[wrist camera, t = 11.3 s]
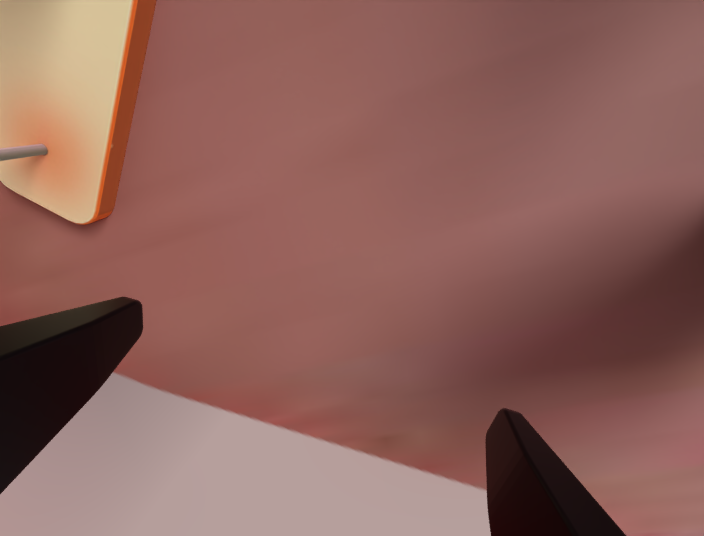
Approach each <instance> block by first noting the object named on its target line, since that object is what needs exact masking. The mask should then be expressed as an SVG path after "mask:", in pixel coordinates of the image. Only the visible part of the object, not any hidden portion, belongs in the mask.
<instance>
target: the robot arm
mask: <svg viewBox="0 0 704 536" xmlns="http://www.w3.org/2000/svg"><path fill="white" fill-rule="evenodd" d="M142 331H143V313H142V304H141V302H140V301H138V300H135V299H131V298H128V297H119V298H115V299H111V300H107V301H103V302H99V303H95V304H91V305H86V306H82V307H78V308H74V309H70V310H66V311H62V312H58V313H53V314H49V315H45V316H41V317H37V318H33V319H29V320H25V321H21V322H16V323H12V324H8V325H4V326H0V494H1V493H2V492H3V491H4V490H5V489H6V488H7V486H8V485H9V484H10V483H11V482H12V481H13V480H14V479H15V478H16V477H17V476H18V475H19V474H20V473H21V472H22V470H23V469H24V468H25V467H26V466H27V465H28V464H29V463H30V462H31V461H32V460H33V459H34V458H35V456H37V455H38V454H39V452H40V451H41V450H42V449H43V448H44V447H45V446H46V445H47V444H48V443H49V442H50V441H51V440H52V439H53V438H54V437H55V435H56V434H57V433H58V432H59V431H60V430H61V429H62V428H63V427H64V426H65V425H66V424H67V423H68V422H69V421H70V420H71V419H72V418H73V416H74V415H75V414H76V413H77V412H78V411H79V410H80V409H81V408H82V407H83V406H84V405H85V404H86V403H87V402H88V401H89V400H90V398H91V397H92V396H93V395H94V394H95V393H96V392H97V391H98V390H99V389H100V387H101V386H102V385H103V384H104V383H105V381H106V380H107V379H108V377H109V376H110V375H111V374H112V372H113V371H114V370H115V369H116V367H117V366H118V365H119V363H120V362H121V361H122V359H123V358H124V357H125V356H126V354H127V353H128V352H129V350H130V349H131V348H132V347H133V345H134V344H135V343H136V341H137V340H138V339H139V337H140V336H141V334H142ZM486 476H487V504H488V515H489V523H490V531H491V536H626V535H625V534H624V532H623V531H622V530H621V529H620V528H619V527H618V526H617V524H616V523H615V522H614V521H613V520H612V519H611V517H610V516H609V515H608V514H607V513H606V512H605V510H604V509H603V508H602V507H601V506H600V505H599V504H598V502H597V501H596V500H595V499H594V498H593V497H592V495H591V494H590V493H589V492H588V491H587V490H586V488H585V487H584V486H583V485H582V484H581V483H580V481H579V480H578V479H577V478H576V477H575V476H574V475H573V473H572V472H571V471H570V470H569V469H568V468H567V466H566V465H565V464H564V463H563V462H562V461H561V459H560V458H559V457H558V456H557V455H556V454H555V453H554V451H553V450H552V449H551V448H550V447H549V446H548V444H547V443H546V442H545V441H544V440H543V439H542V437H541V436H540V435H539V434H538V433H537V432H536V430H535V429H534V428H533V427H532V426H531V425H530V424H529V422H528V421H527V420H526V419H525V418H524V417H523V415H522V414H520V413H519V412H516V411H513V410H509V409H506V408H503V409H501V410H500V411H499V412H498V413H497V415H496V417H495V419H494V420H493V422H492V424H491V426H490V427H489V429H488V431H487V434H486Z"/></svg>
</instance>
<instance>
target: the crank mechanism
mask: <svg viewBox="0 0 704 536" xmlns="http://www.w3.org/2000/svg"><path fill="white" fill-rule="evenodd" d="M155 5H156V0H0V181H1V182H2V183H3V184H4V185H5V186H7V187H8V188H9V189H11V190H12V191H14V192H16V193H17V194H19V195H21V196H23V197H25V198H27V199H29V200H31V201H33V202H34V203H36V204H38V205H40V206H42V207H44V208H46V209H48V210H50V211H51V212H53V213H55V214H57V215H59V216H61V217H63V218H65V219H67V220H68V221H71V222H73V223H76V224H81V225H86V224H89V223H92V222H95V221H98V220H100V219H103V218H106V217H108V216H109V215H110V214H111V213H112V211H113V209H114V206H115V201H116V196H117V191H118V186H119V181H120V176H121V171H122V167H123V162H124V157H125V152H126V147H127V142H128V137H129V132H130V127H131V123H132V118H133V113H134V108H135V103H136V98H137V93H138V88H139V83H140V79H141V74H142V69H143V64H144V59H145V54H146V49H147V44H148V39H149V35H150V30H151V25H152V20H153V15H154V10H155Z"/></svg>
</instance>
